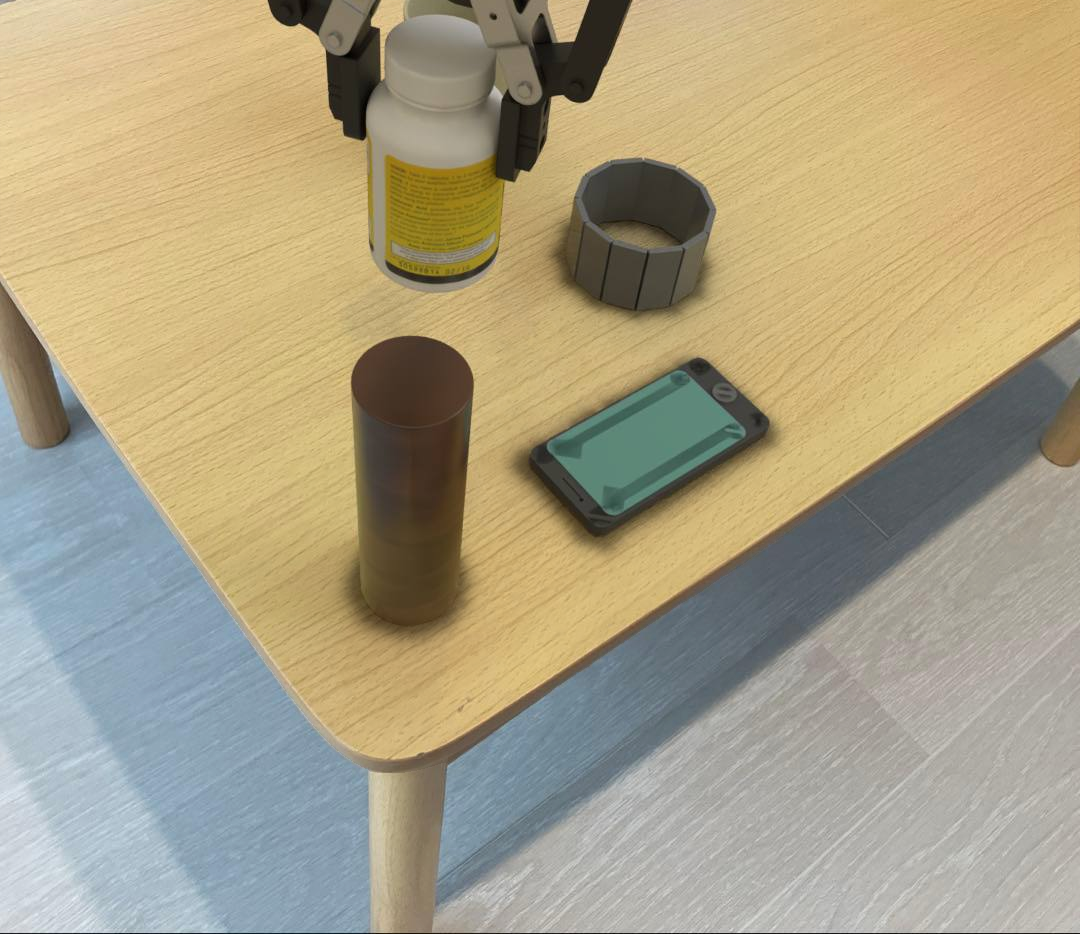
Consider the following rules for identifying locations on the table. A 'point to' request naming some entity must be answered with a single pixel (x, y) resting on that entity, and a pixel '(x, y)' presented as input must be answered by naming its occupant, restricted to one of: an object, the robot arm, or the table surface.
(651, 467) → the smartphone
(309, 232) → the table surface
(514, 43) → the robot arm
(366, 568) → the brown metal stand
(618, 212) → the grey ring
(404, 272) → the supplement bottle
